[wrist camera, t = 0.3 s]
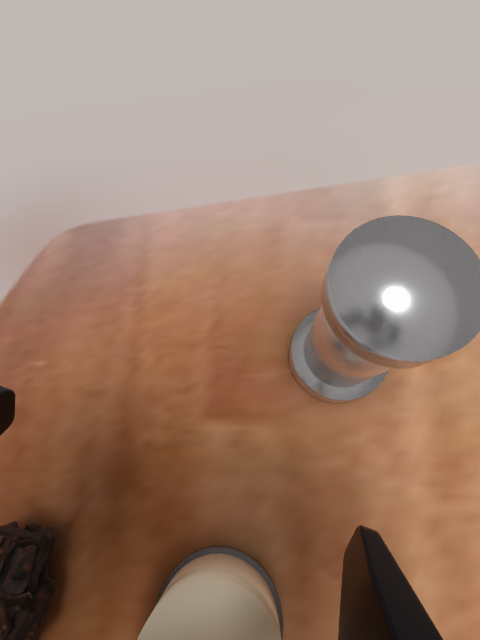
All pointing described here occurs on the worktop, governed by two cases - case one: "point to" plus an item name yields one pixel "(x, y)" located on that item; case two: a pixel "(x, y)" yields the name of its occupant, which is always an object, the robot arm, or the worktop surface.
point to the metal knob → (387, 307)
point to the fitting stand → (216, 600)
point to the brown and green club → (25, 579)
